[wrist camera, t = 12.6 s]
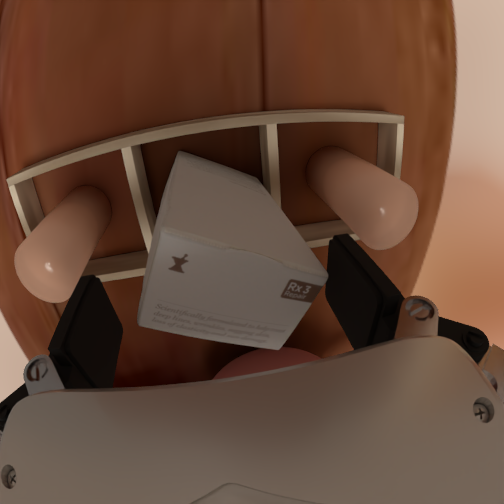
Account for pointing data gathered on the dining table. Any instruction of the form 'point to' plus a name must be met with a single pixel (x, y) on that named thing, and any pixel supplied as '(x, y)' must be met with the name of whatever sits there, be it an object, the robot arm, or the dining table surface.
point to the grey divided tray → (317, 175)
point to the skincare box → (225, 260)
